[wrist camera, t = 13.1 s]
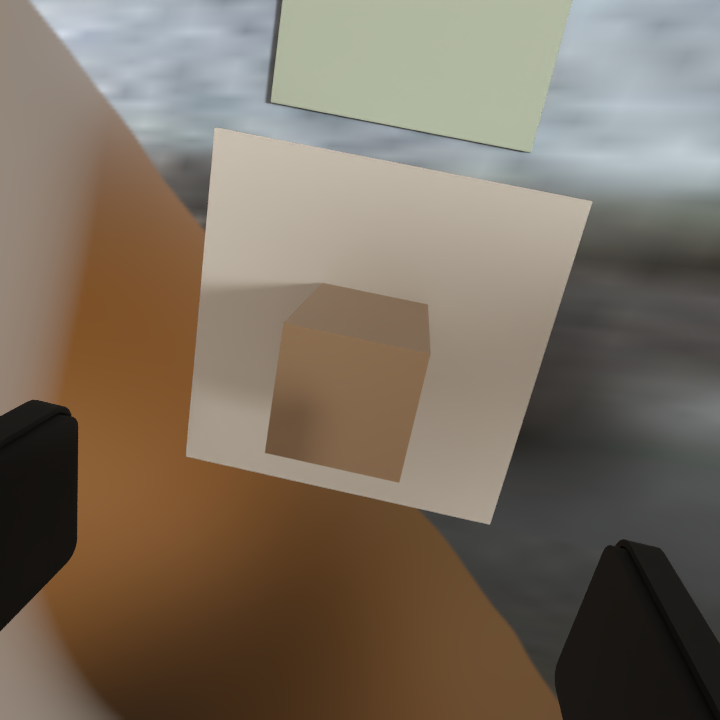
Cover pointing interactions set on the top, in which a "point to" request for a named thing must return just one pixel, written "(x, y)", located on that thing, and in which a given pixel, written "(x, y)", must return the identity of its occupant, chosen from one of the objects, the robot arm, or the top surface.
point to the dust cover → (372, 321)
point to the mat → (423, 63)
